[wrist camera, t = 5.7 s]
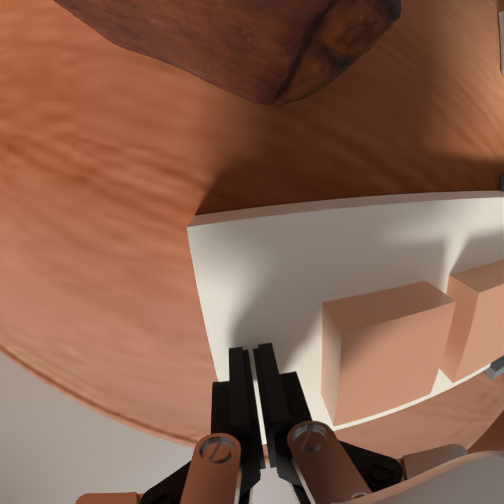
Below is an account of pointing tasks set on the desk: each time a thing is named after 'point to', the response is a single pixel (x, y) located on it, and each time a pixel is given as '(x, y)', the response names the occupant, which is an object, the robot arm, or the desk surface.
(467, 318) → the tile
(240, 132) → the desk surface
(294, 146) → the desk surface
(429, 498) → the robot arm
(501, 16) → the supplement box
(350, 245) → the board
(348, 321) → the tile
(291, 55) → the wooden figurine
